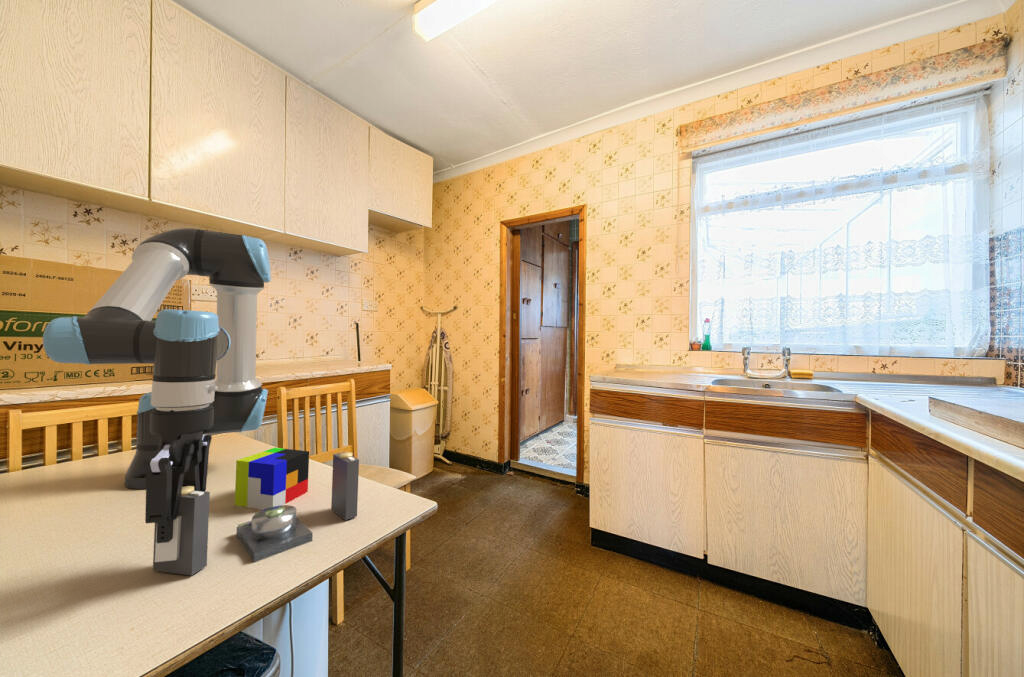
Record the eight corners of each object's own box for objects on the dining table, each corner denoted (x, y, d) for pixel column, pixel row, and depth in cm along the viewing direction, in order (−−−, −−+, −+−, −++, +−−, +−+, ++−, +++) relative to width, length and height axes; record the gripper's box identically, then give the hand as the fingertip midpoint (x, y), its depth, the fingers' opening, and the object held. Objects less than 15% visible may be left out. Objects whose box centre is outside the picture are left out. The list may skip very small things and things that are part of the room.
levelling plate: (236, 535, 67) (237, 507, 67) (289, 518, 74) (290, 492, 74) (254, 562, 60) (255, 530, 60) (312, 540, 66) (313, 512, 66)
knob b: (330, 509, 78) (332, 451, 78) (342, 505, 80) (344, 449, 80) (345, 520, 73) (347, 459, 74) (357, 516, 75) (359, 456, 76)
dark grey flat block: (152, 570, 56) (155, 490, 56) (169, 560, 59) (173, 484, 59) (191, 575, 55) (194, 494, 55) (207, 565, 58) (210, 487, 58)
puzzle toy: (272, 511, 77) (274, 464, 77) (234, 505, 79) (236, 460, 79) (307, 492, 87) (309, 451, 87) (273, 487, 89) (274, 447, 89)
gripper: (180, 417, 50) (171, 583, 50) (235, 396, 66) (228, 522, 66) (112, 418, 48) (103, 591, 48) (186, 396, 64) (179, 525, 64)
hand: (176, 550), depth 57 cm, fingers closed on dark grey flat block, 4 cm apart
